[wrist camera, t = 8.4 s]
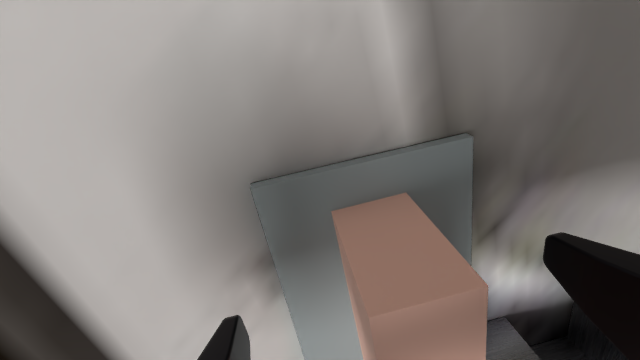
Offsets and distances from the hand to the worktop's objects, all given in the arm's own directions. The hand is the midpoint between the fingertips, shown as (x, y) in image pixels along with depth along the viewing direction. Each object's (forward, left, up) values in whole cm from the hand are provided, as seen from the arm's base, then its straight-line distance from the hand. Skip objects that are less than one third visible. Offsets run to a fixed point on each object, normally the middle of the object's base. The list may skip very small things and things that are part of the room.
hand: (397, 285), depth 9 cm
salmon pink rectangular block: (-3, 0, -2) cm, 4 cm away
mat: (-3, 0, -2) cm, 4 cm away
